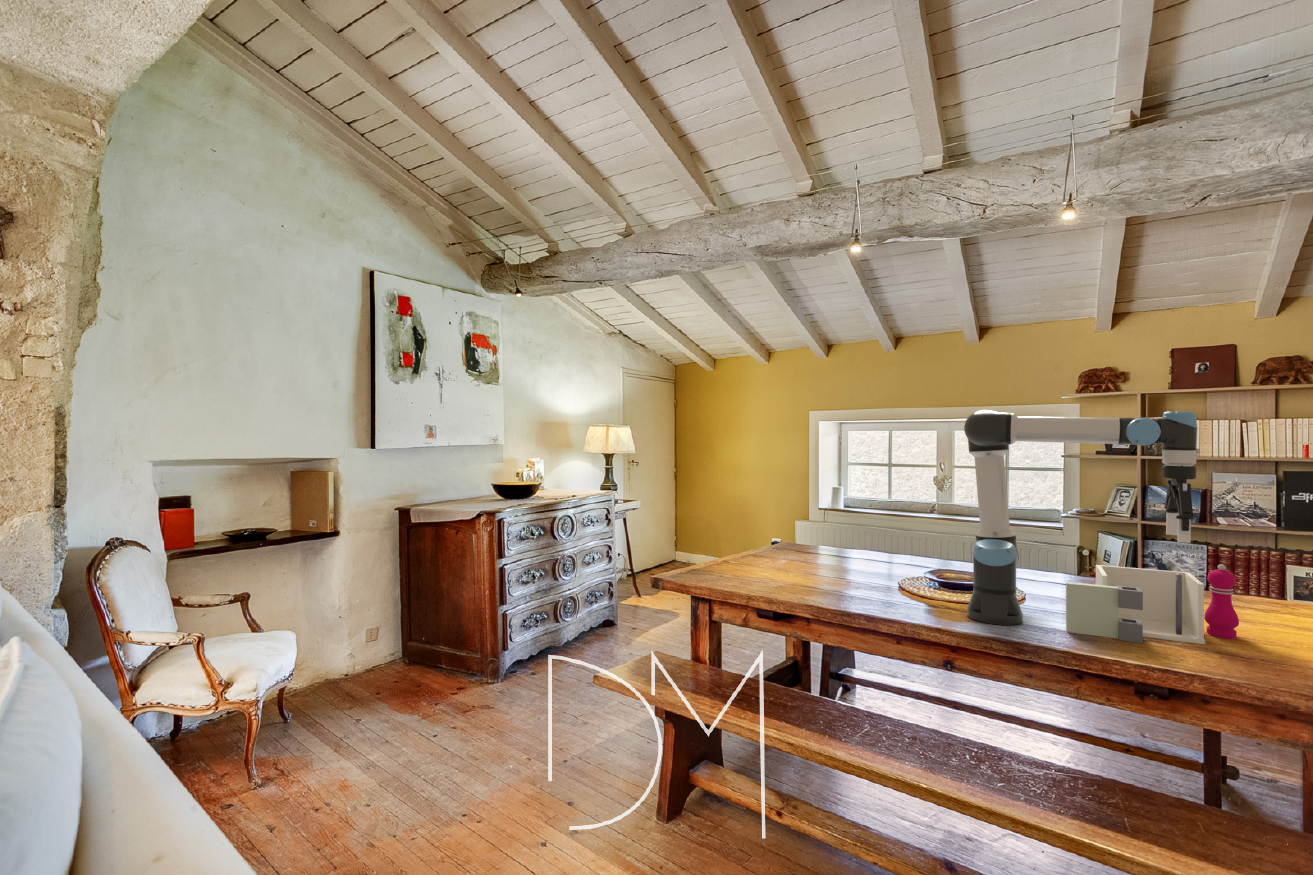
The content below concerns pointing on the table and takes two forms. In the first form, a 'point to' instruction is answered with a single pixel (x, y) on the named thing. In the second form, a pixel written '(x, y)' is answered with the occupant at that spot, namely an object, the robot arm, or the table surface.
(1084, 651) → the table surface
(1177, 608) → the hinge pin
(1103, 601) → the door
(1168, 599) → the carcass
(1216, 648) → the table surface
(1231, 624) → the pepper mill
